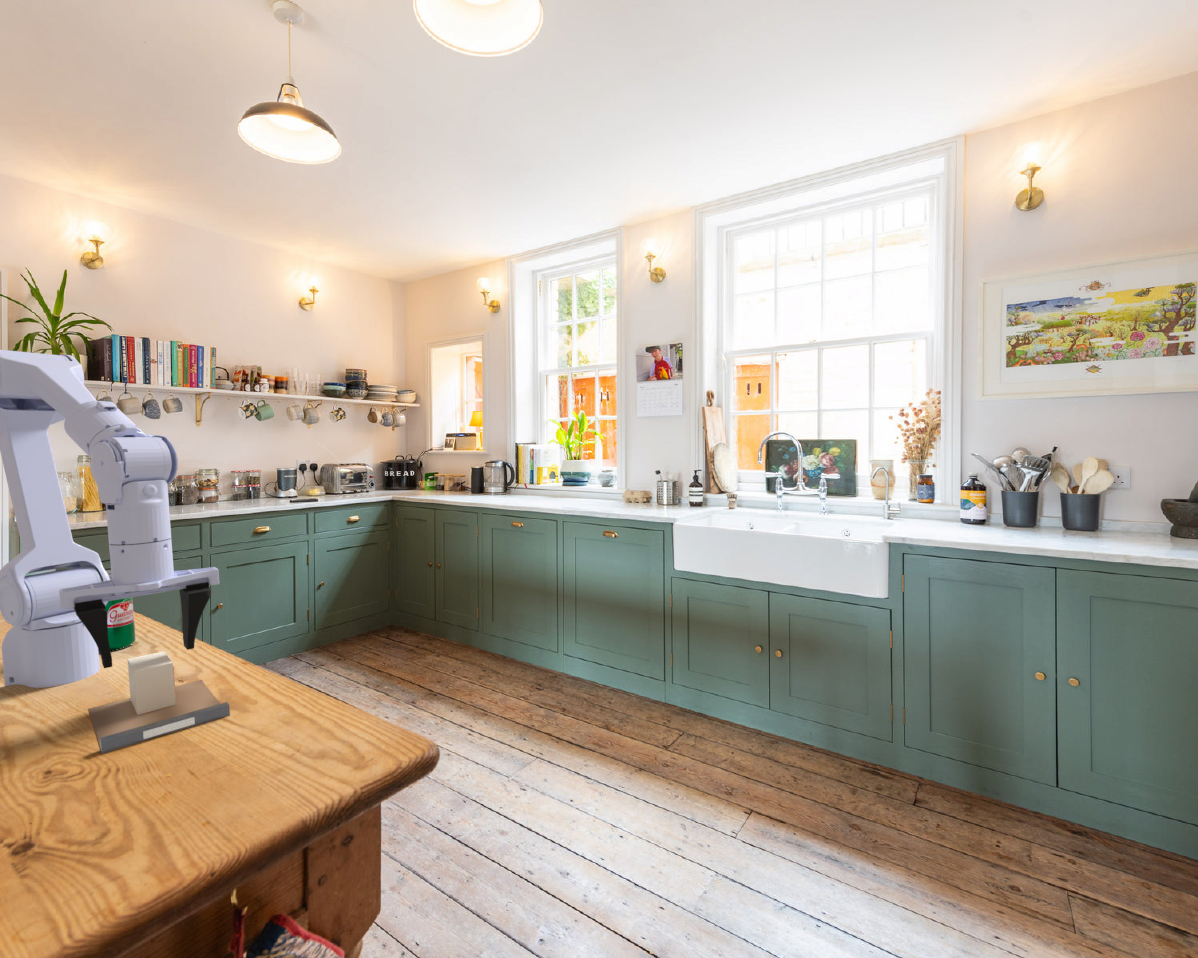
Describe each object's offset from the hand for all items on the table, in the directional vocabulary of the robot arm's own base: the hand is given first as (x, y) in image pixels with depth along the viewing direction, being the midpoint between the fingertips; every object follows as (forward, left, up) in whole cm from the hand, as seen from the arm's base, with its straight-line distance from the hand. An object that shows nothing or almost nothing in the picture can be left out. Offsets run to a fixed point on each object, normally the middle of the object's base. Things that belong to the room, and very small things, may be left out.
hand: (149, 655), depth 69 cm
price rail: (+8, -6, -6) cm, 11 cm away
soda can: (-27, +20, -7) cm, 34 cm away
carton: (0, 0, -6) cm, 6 cm away
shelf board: (+3, -2, -7) cm, 8 cm away
